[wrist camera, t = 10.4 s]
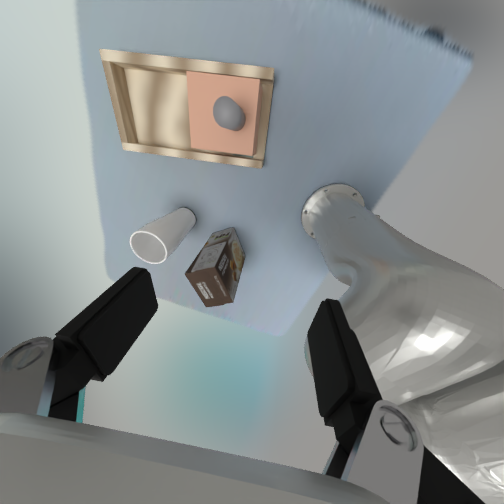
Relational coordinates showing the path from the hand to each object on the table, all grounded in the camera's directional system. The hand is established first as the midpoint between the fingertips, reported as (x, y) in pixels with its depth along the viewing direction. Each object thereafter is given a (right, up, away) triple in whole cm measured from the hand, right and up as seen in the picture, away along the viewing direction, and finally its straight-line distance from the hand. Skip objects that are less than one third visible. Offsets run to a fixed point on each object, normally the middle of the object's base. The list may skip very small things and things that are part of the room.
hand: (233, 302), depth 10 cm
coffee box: (-5, +5, +36) cm, 37 cm away
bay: (-9, +27, +23) cm, 37 cm away
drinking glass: (-15, +11, +34) cm, 38 cm away
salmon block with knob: (-3, +26, +21) cm, 34 cm away
